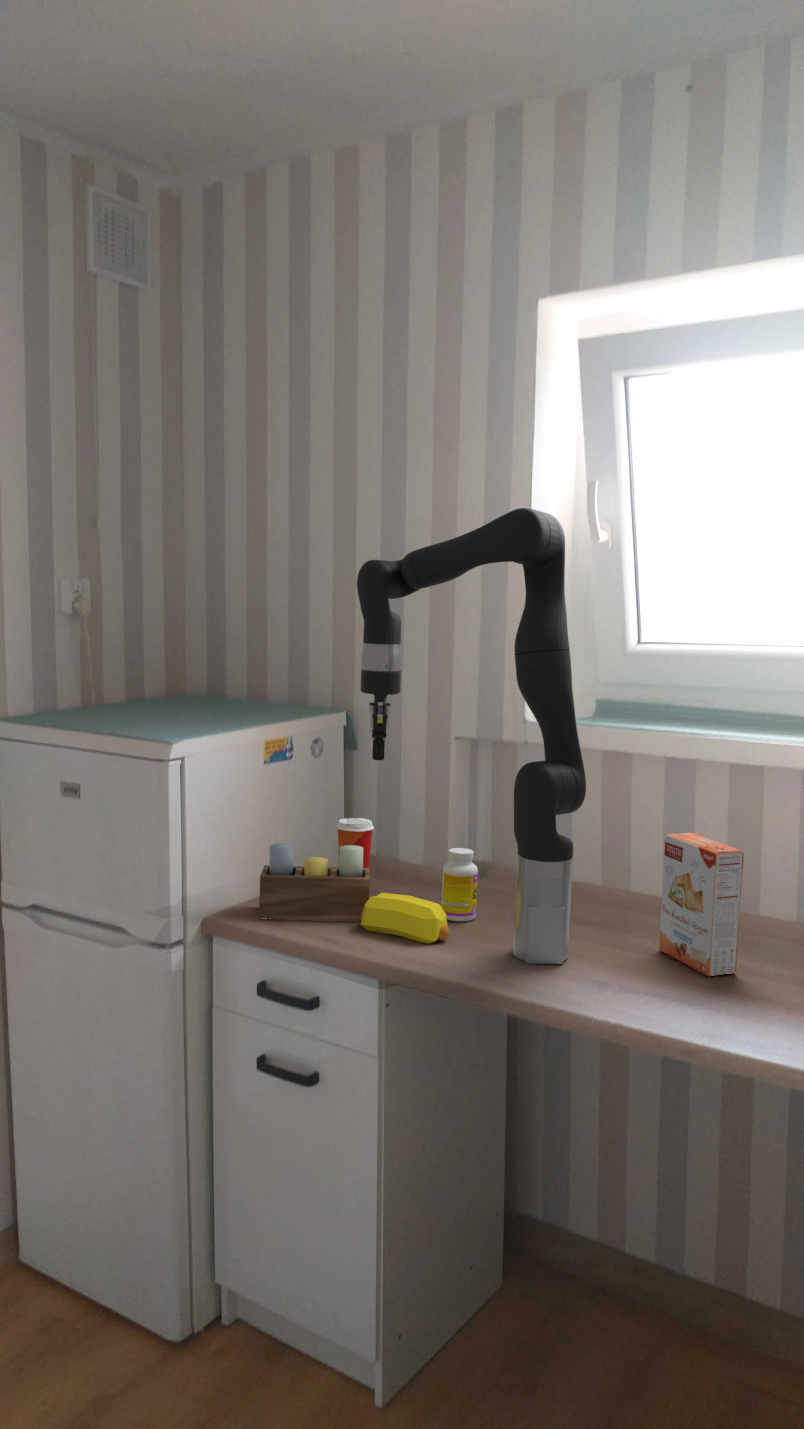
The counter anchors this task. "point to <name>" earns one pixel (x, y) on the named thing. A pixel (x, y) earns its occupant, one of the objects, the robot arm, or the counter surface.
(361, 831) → the paper cup
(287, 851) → the blue-grey cylinder
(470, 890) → the supplement bottle
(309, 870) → the button mustard
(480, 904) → the counter surface
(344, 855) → the button sage
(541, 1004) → the counter surface
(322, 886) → the wooden compartment holder
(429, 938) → the yellow toy banana
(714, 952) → the cracker box
